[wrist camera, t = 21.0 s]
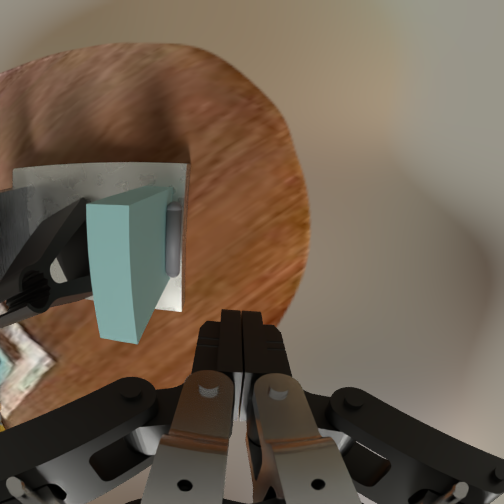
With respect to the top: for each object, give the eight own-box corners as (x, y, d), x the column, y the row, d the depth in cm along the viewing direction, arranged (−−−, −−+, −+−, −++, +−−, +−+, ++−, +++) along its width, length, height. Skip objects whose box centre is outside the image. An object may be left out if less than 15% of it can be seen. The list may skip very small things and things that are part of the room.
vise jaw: (183, 279, 24) (156, 346, 15) (144, 275, 24) (100, 337, 14) (187, 188, 22) (152, 206, 12) (144, 186, 22) (86, 204, 12)
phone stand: (43, 220, 22) (-41, 259, 10) (85, 196, 22) (-7, 227, 10) (78, 299, 25) (16, 369, 13) (121, 284, 24) (61, 362, 13)
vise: (184, 301, 27) (159, 385, 16) (32, 280, 26) (-28, 328, 14) (190, 163, 23) (151, 164, 12) (23, 167, 22) (-55, 181, 10)
